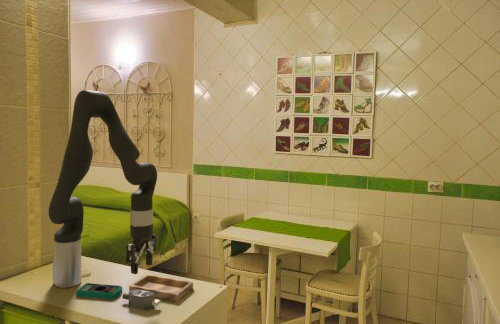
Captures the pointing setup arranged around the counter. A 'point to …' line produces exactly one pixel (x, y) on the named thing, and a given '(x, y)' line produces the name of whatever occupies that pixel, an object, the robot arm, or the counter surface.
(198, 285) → the counter surface
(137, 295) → the gray bottle
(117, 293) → the digital multimeter
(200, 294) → the counter surface
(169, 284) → the oak tray
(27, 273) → the counter surface
